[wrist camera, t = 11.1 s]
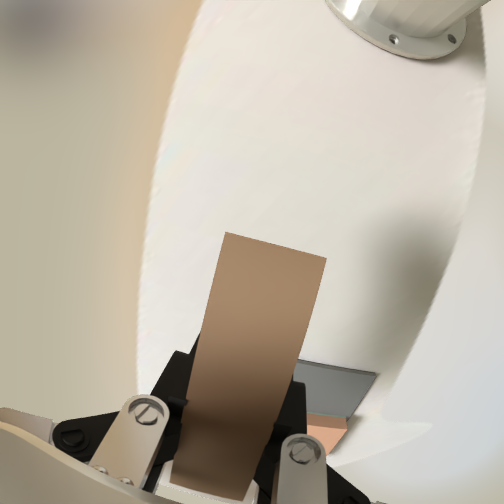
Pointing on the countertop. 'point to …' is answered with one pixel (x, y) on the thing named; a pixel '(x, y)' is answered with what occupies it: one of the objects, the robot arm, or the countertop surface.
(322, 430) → the tile
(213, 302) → the tan tapered bar
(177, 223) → the countertop surface
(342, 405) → the mat
